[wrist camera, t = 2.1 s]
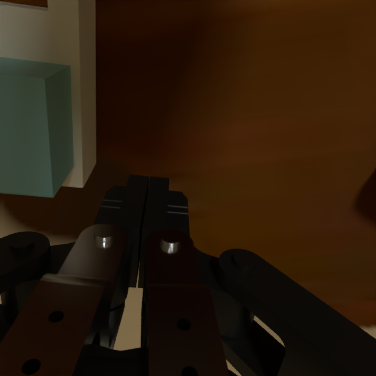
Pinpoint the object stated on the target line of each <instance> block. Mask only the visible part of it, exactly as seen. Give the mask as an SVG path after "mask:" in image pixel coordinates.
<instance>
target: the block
mask: <svg viewBox="0 0 376 376" xmlns="http://www.w3.org/2000/svg"><path fill="white" fill-rule="evenodd" d="M73 167H74V147H73V120H72V94H71V67H70V65H62V64H54V63H46V62H38V61H30V60H22V59H14V58H6V57H0V193H6V194H17V195H28V196H29V195H30V196H40V197H51V198H53V197H54V196H55V194H56V193H57V191H58V190H59V188H60V187H61V185H62V184H63V182H64V181H65V179H66V178H67V176H68V175H69V173H70V172H71V170H72V169H73Z"/></svg>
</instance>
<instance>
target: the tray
mask: <svg viewBox="0 0 376 376" xmlns="http://www.w3.org/2000/svg"><path fill="white" fill-rule="evenodd" d="M0 57H6V58H14V59H22V60H30V61H38V62H46V63H54V64H62V65H70V67H71V94H72V120H73V147H74V167H73V169H72V170H71V172H70V173H69V175H68V176H67V178H66V179H65V181H64V182H63V184H62V185H61V186H68V187H79V188H83V187H84V185H85V183H86V181H87V179H88V177H89V175H90V174H91V171H92V170H93V168H94V166H95V164H96V12H95V0H48V8H45V7H37V6H30V5H23V4H15V3H8V2H1V1H0Z"/></svg>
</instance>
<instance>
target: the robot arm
mask: <svg viewBox="0 0 376 376" xmlns="http://www.w3.org/2000/svg"><path fill="white" fill-rule="evenodd" d="M148 185H149V189H148ZM139 263H140V266H139ZM138 270H139V280H138V288H143V297H142V309H141V348H135V349H129V350H124V351H118V350H113V348H114V344H115V340H116V336H117V333H118V329H119V326H120V322H121V319H122V315H123V311H124V307H125V299H126V297H127V294H128V288H129V287H134V288H135V287H136V283H137V276H138ZM0 295H1V301H2V304H0V376H237V375H236V374H235V373H233V372H232V371H230V370H229V369H228V367H227V363H226V360H227V361H228V362H229V363H230V364H231V365H232V366H233V367H234V368H235V369H236V370H237V371H238V372H239V373H240V374H241V375H242V376H376V339H375V338H374V337H372V336H371V335H369V334H368V333H367V332H365V331H364V330H362V329H361V328H360V327H358V326H357V325H355V324H354V323H352V322H351V321H350V320H348V319H347V318H345V317H344V316H343V315H341V314H340V313H338V312H337V311H336V310H334V309H333V308H331V307H330V306H329V305H327V304H326V303H324V302H323V301H321V300H320V299H319V298H317V297H316V296H314V295H313V294H312V293H310V292H309V291H307V290H306V289H305V288H303V287H302V286H300V285H299V284H297V283H296V282H295V281H293V280H292V279H290V278H289V277H288V276H286V275H285V274H283V273H282V272H281V271H279V270H278V269H276V268H275V267H274V266H272V265H271V264H269V263H268V262H266V261H265V260H264V259H262V258H261V257H259V256H258V255H256V254H255V253H253V252H250V251H247V250H243V249H230V250H227V251H225V252H223V253H222V254H221V255H220V257H219V258H217V257H214V256H210V255H207V254H205V253H203V252H201V251H199V250H198V249H197V248H195V247H194V243H193V240H192V239H191V238H190V233H189V216H188V200H187V198H186V197H185V195H184V194H183V193H182V192H177V191H169V178H161V177H150V182H149V176H140V175H130V176H129V179H128V183H127V186H126V187H123V186H114V187H112V188H111V189H109V190H108V191H107V192H106V194H105V197H104V199H103V202H102V204H101V207H100V209H99V212H98V214H97V217H96V219H95V222H94V224H93V226H90V227H88V228H86V229H85V230H83V231H82V233H81V234H80V236H79V238H78V239H77V241H76V242H73V243H68V244H62V245H54V246H50V242H49V239H48V238H47V237H46V236H44V235H43V234H40V233H37V232H18V233H14V234H11V235H8V236H5V237H3V238H0ZM254 316H256V317H258V318H259V319H260V320H261V321H262V322H263V323H265V324H266V325H267V326H268V327H269V328H270V329H271V330H273V331H274V332H275V333H276V334H277V335H278V336H279V337H280V338H281V340H282V341H283V343H284V346H285V347H284V346H283V345H282V344H281V343H279V342H278V341H277V340H276V339H275V338H274V337H273V336H272V335H270V334H269V333H268V332H267V331H266V330H265V329H264V328H262V327H261V326H260V325H259V324H258V323H257V322H256V321H255V320H253V319H254Z"/></svg>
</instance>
